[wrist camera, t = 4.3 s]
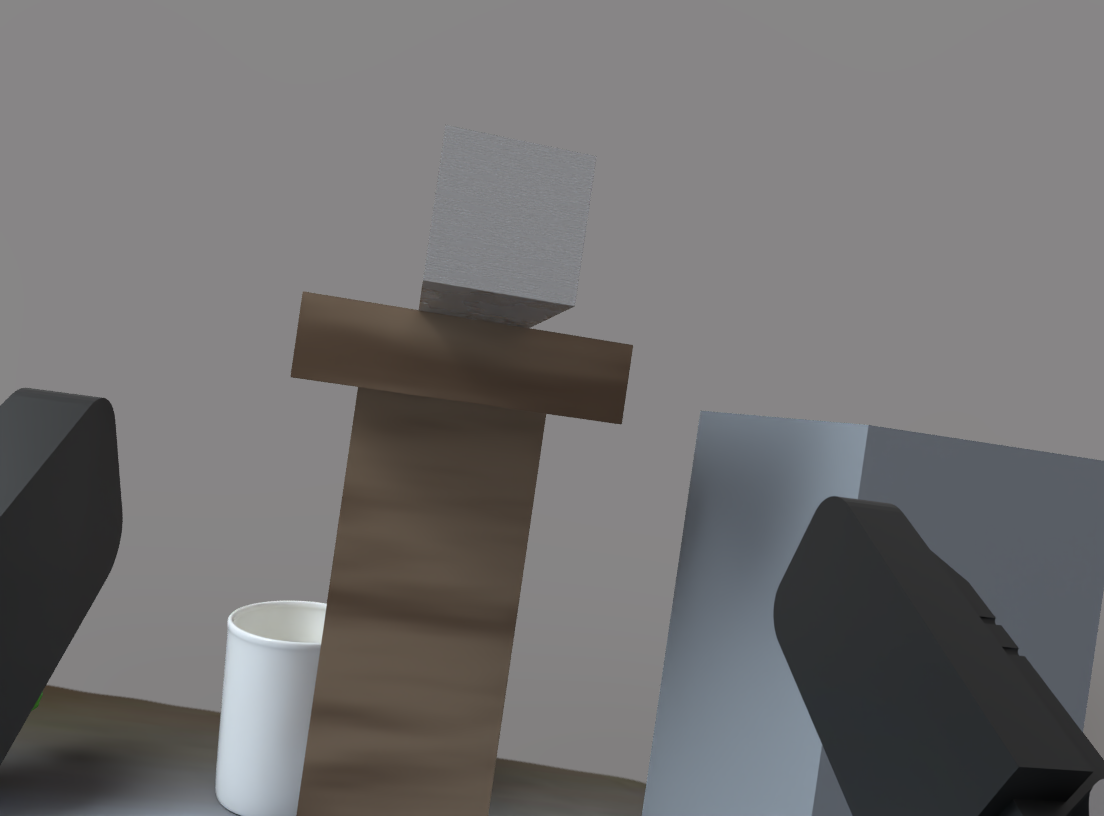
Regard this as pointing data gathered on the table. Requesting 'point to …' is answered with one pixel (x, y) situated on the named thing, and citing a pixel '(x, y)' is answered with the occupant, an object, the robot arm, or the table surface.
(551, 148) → the aluminium bar
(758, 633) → the slate plinth
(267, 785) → the candle holder
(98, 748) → the table surface
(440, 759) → the walnut pedestal
